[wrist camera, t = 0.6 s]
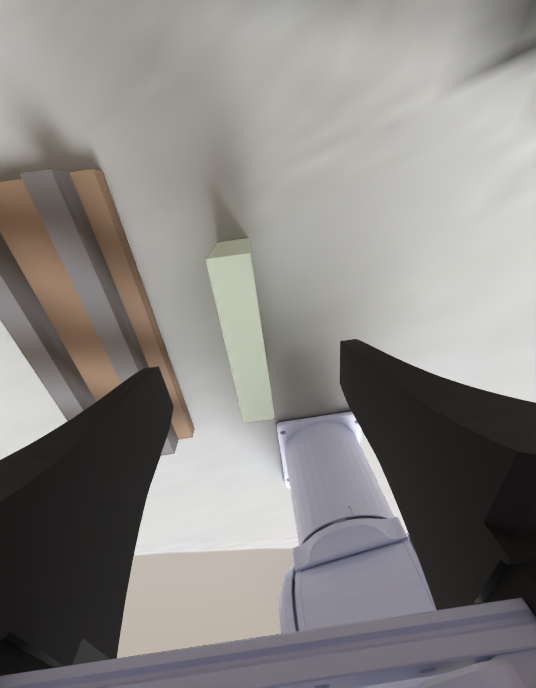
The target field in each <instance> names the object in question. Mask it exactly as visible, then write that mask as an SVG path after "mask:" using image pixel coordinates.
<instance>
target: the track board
mask: <svg viewBox="0 0 536 688" xmlns="http://www.w3.org/2000/svg"><path fill="white" fill-rule="evenodd" d="M19 175H20V177H21V179H17V180H9V181H2V182H0V320H1V322H2V323H3V325H4V326H5V328H6V329H7V331H8V332H9V334H10V335H11V337H12V338H13V340H14V341H15V343H16V344H17V346H18V347H19V349H20V350H21V352H22V353H23V355H24V356H25V358H26V359H27V361H28V362H29V364H30V365H31V367H32V368H33V370H34V371H35V373H36V374H37V376H38V377H39V379H40V380H41V382H42V383H43V385H44V386H45V388H46V389H47V391H48V392H49V394H50V395H51V397H52V398H53V400H54V401H55V403H56V404H57V406H58V407H59V409H60V410H61V412H62V413H63V415H64V416H65V418H66V419H67V421H69V420H71V419H72V418H74V417H75V416H76V415H78V414H79V413H81V412H82V411H84V410H85V409H87V408H88V407H89V406H91V405H92V404H94V403H95V402H97V401H98V400H100V399H101V398H102V397H104V396H105V395H106V394H108V393H109V392H110V391H112V390H113V389H114V388H116V387H117V386H118V385H120V384H121V383H123V382H124V381H125V380H127V379H128V378H129V377H131V376H132V375H134V374H135V373H137V372H138V371H140V370H142V369H143V368H150V367H157V366H159V368H160V371H161V373H162V376H163V379H164V381H165V384H166V387H167V389H168V392H169V395H170V398H171V400H172V403H173V406H174V408H173V414H172V420H171V424H170V429H169V432H168V435H167V438H166V441H165V444H164V447H163V450H162V453H161V456H162V455H169V454H174V453H175V450H176V446H177V443H178V439H185V438H191V437H193V433H194V426H193V423H192V421H191V418H190V415H189V412H188V409H187V407H186V404H185V401H184V398H183V395H182V393H181V390H180V387H179V384H178V381H177V379H176V376H175V373H174V370H173V368H172V365H171V362H170V359H169V356H168V354H167V351H166V348H165V345H164V342H163V340H162V337H161V334H160V331H159V328H158V326H157V323H156V320H155V317H154V314H153V312H152V309H151V306H150V303H149V300H148V298H147V295H146V292H145V289H144V286H143V284H142V281H141V278H140V275H139V272H138V270H137V267H136V264H135V261H134V258H133V256H132V253H131V250H130V247H129V244H128V242H127V239H126V236H125V233H124V230H123V228H122V225H121V222H120V219H119V216H118V214H117V211H116V208H115V205H114V202H113V200H112V197H111V194H110V191H109V188H108V186H107V183H106V180H105V177H104V174H103V172H102V171H100V170H96V169H88V170H81V171H74V172H66V171H60V170H55V169H45V170H38V171H31V172H24V173H19Z"/></svg>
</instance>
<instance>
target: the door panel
mask: <svg viewBox="0 0 536 688" xmlns="http://www.w3.org/2000/svg"><path fill="white" fill-rule="evenodd" d="M205 260H206V264H207V268H208V273H209V277H210V281H211V286H212V290H213V294H214V299H215V303H216V307H217V312H218V316H219V320H220V325H221V329H222V333H223V338H224V342H225V346H226V351H227V355H228V359H229V364H230V368H231V372H232V377H233V381H234V385H235V390H236V394H237V398H238V403H239V407H240V411H241V416H242V420H243V423H249V422H256V421H262V420H269V419H275V415H274V408H273V401H272V394H271V387H270V380H269V372H268V365H267V359H266V352H265V345H264V338H263V332H262V325H261V318H260V312H259V305H258V298H257V291H256V285H255V278H254V271H253V265H252V258H251V251H250V244H249V238H244V239H237V240H230V241H223V242H217V244H216V245H215V247H214V248H213V249H212V251H211V252H210V254H209V255H208V256H207V258H206V259H205Z"/></svg>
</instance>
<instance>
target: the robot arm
mask: <svg viewBox="0 0 536 688" xmlns="http://www.w3.org/2000/svg"><path fill="white" fill-rule="evenodd" d="M340 385H341V388H342V391H343V393H344V396H345V398H346V401H347V403H348V405H349V407H350V409H351V411H352V412H345V413H338V414H332V415H325V416H318V417H312V418H305V419H298V420H291V421H285V422H280V423H278V424H277V433H278V439H279V446H280V453H281V460H282V466H283V473H284V480H285V486H286V487H287V488H290V490H291V496H292V503H293V509H294V515H295V522H296V528H297V534H298V541H299V546H298V547H295V548H293V556H294V564H295V566H294V567H290V568H288V570H287V571H286V574H285V577H284V581H283V583H282V586H281V590H280V601H279V610H280V627H281V634H276V635H270V636H263V637H256V638H250V639H243V640H236V641H230V642H223V643H216V644H210V645H203V646H196V647H190V648H183V649H176V650H170V651H163V652H157V653H150V654H143V655H137V656H130V657H123V658H117V651H118V644H119V638H120V631H121V625H122V618H123V611H124V605H125V599H126V593H127V588H128V582H129V577H130V571H131V566H132V560H133V556H134V551H135V546H136V541H137V537H138V532H139V527H140V523H141V519H142V515H143V510H144V506H145V502H146V498H147V494H148V491H149V488H150V484H151V482H152V479H153V476H154V473H155V470H156V467H157V464H158V461H159V459H160V456H161V453H162V450H163V447H164V444H165V441H166V438H167V435H168V432H169V429H170V424H171V420H172V414H173V408H174V406H173V403H172V400H171V398H170V395H169V392H168V389H167V387H166V384H165V381H164V379H163V376H162V373H161V371H160V368H159V366H157V367H150V368H143V369H142V370H140V371H138V372H137V373H135V374H134V375H132V376H131V377H129V378H128V379H127V380H125V381H124V382H123V383H121V384H120V385H118V386H117V387H116V388H114V389H113V390H112V391H110V392H109V393H108V394H106V395H105V396H104V397H102V398H101V399H100V400H98V401H97V402H95V403H94V404H92V405H91V406H89V407H88V408H87V409H85V410H84V411H82V412H81V413H79V414H78V415H76V416H75V417H74V418H72V419H71V420H69V421H68V422H66V423H65V424H63V425H61V426H60V427H58V428H57V429H55V430H53V431H52V432H50V433H48V434H47V435H45V436H43V437H42V438H40V439H38V440H37V441H35V442H33V443H31V444H30V445H28V446H26V447H24V448H22V449H20V450H18V451H17V452H15V453H13V454H11V455H9V456H7V457H5V458H3V459H1V460H0V688H536V403H534V402H529V401H525V400H520V399H516V398H512V397H507V396H503V395H499V394H496V393H492V392H488V391H485V390H481V389H477V388H474V387H470V386H467V385H464V384H461V383H458V382H455V381H452V380H449V379H446V378H443V377H440V376H437V375H434V374H432V373H429V372H427V371H424V370H422V369H420V368H417V367H415V366H412V365H410V364H408V363H406V362H403V361H401V360H399V359H397V358H395V357H393V356H391V355H388V354H386V353H384V352H382V351H380V350H378V349H376V348H374V347H372V346H370V345H368V344H366V343H364V342H362V341H360V340H357V339H353V340H346V341H340ZM355 420H356V421H355ZM362 431H363V433H364V435H365V436H366V438H367V440H368V442H369V444H370V445H371V447H372V449H373V451H374V453H375V455H376V457H377V459H378V461H379V463H380V465H381V467H382V469H383V472H384V474H385V476H386V479H387V481H388V483H389V486H390V488H391V490H392V493H393V495H394V498H395V500H396V503H397V505H398V508H399V510H400V512H401V515H402V517H403V520H404V522H405V525H406V528H407V530H408V533H407V535H408V537H407V535H406V533H405V531H404V529H403V527H402V525H401V523H400V521H399V519H398V517H394V515H393V513H392V511H391V509H390V507H389V505H388V503H387V501H386V499H385V496H384V494H383V492H382V490H381V488H380V486H379V484H378V482H377V480H376V478H375V475H374V473H373V471H372V469H371V467H370V465H369V463H368V461H367V459H366V457H365V454H364V452H363V450H362V448H361V434H362ZM408 538H409V539H408Z"/></svg>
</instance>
